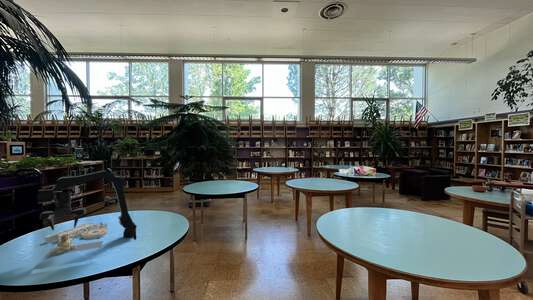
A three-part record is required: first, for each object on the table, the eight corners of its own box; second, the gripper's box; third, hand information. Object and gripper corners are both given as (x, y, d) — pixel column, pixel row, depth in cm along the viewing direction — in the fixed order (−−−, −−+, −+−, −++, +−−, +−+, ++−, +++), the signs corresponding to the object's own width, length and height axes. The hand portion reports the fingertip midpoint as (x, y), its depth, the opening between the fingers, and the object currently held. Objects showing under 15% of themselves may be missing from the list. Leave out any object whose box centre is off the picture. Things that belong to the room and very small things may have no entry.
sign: (89, 221, 175) (125, 224, 168) (89, 227, 175) (125, 229, 169) (43, 237, 145) (84, 241, 139) (43, 244, 145) (85, 248, 139)
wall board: (103, 243, 144) (103, 237, 144) (100, 249, 135) (100, 243, 135) (51, 251, 134) (51, 245, 133) (44, 259, 125) (44, 252, 125)
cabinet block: (72, 246, 136) (71, 232, 136) (69, 251, 131) (68, 236, 130) (60, 248, 134) (60, 234, 134) (57, 253, 128) (56, 238, 128)
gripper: (35, 205, 120) (35, 237, 121) (81, 201, 129) (82, 230, 129) (43, 201, 130) (43, 230, 130) (86, 197, 139) (86, 224, 139)
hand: (64, 229), depth 132 cm, fingers open, 9 cm apart
